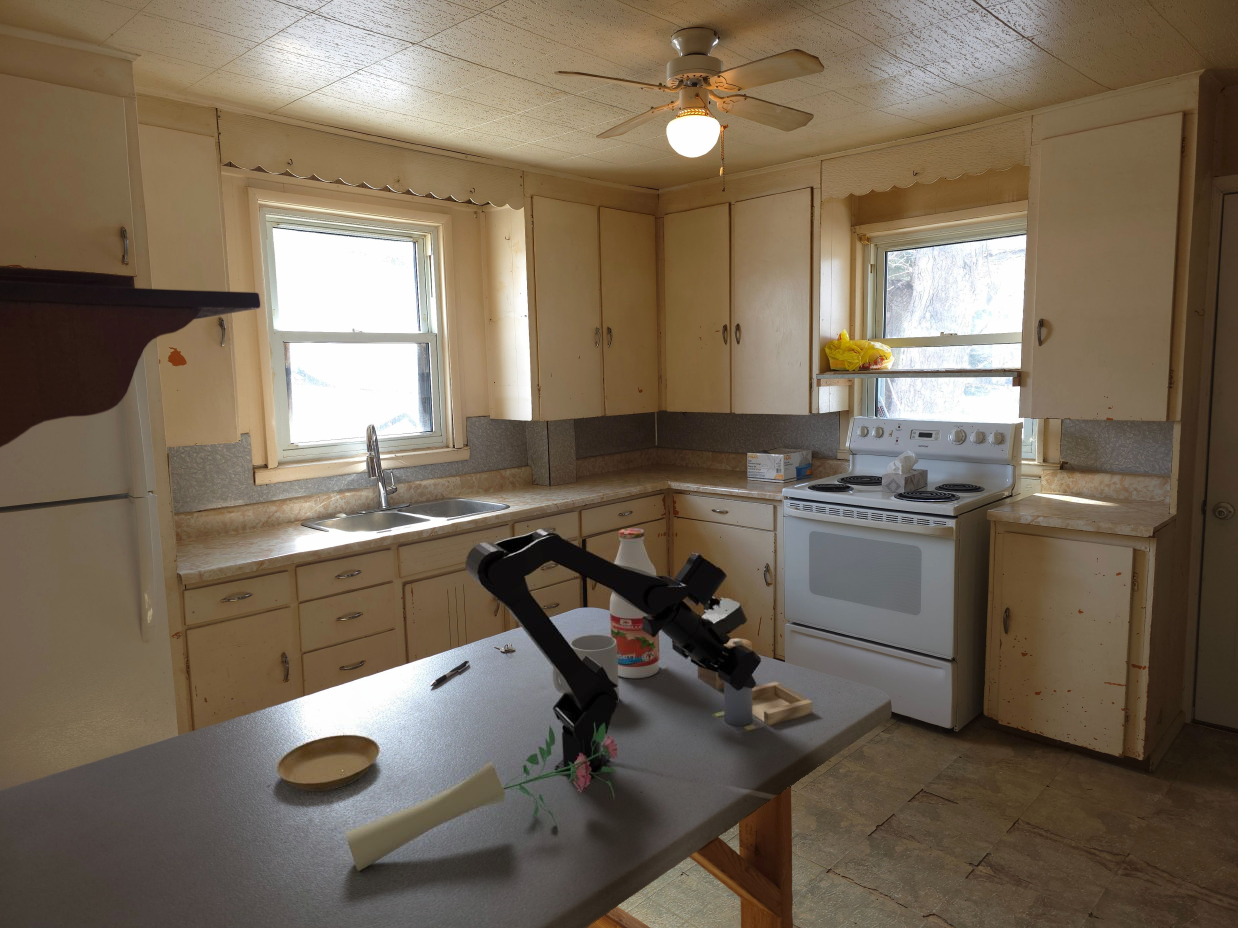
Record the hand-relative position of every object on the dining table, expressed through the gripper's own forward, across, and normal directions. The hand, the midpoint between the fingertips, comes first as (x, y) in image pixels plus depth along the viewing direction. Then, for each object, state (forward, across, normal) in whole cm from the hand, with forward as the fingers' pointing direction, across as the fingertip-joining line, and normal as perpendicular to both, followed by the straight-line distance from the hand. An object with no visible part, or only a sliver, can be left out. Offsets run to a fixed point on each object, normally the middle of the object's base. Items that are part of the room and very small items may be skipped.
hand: (744, 680), depth 133 cm
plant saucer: (-40, +17, +51) cm, 67 cm away
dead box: (+9, +15, +1) cm, 18 cm away
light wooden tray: (+10, +1, +1) cm, 10 cm away
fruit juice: (+1, +29, +9) cm, 31 cm away
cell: (+4, 0, +6) cm, 7 cm away
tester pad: (+4, 0, +6) cm, 7 cm away
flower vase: (-28, -10, +39) cm, 49 cm away
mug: (-9, +20, +20) cm, 30 cm away
